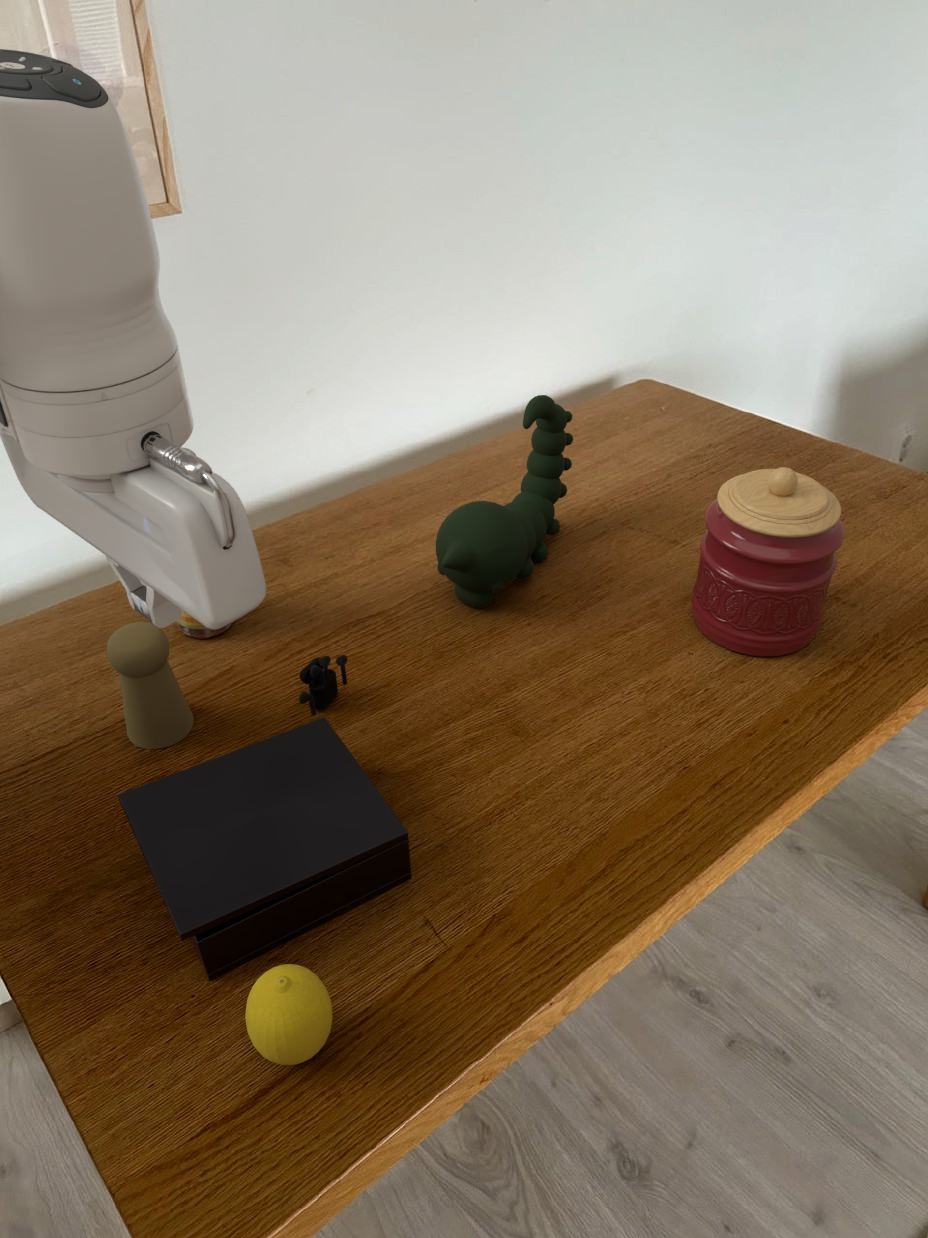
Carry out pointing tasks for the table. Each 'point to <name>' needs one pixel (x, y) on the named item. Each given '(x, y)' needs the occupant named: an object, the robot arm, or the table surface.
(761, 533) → the kitchen canister
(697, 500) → the table surface
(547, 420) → the toy figurine
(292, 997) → the lemon
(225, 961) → the black box base
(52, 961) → the table surface
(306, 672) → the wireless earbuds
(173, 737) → the cork
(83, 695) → the table surface
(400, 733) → the table surface
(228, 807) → the lid
